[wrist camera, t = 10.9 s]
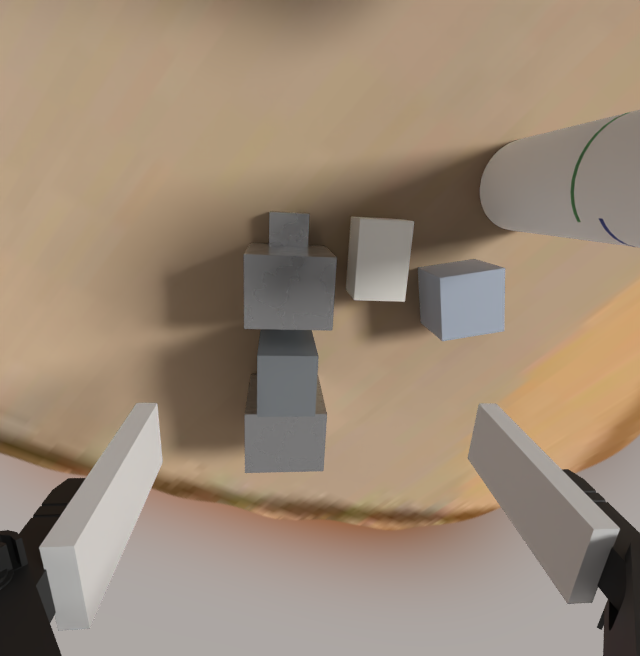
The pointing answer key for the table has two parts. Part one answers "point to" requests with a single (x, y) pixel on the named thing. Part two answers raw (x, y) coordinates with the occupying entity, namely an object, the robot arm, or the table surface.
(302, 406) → the block
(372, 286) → the loose block white
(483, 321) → the loose block slate
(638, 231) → the cylindrical container
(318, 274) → the grey stepped block assembly
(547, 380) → the table surface
